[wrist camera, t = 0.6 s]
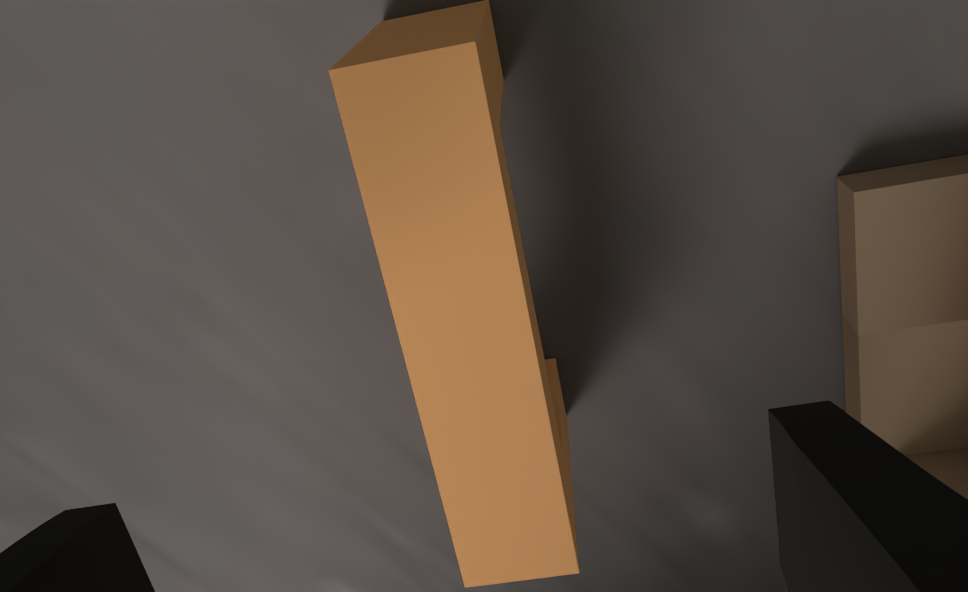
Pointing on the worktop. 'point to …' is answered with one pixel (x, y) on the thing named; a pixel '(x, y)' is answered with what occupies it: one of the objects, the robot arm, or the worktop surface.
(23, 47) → the worktop surface
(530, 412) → the tan wooden angled block
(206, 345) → the worktop surface
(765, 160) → the worktop surface
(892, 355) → the hook stand
